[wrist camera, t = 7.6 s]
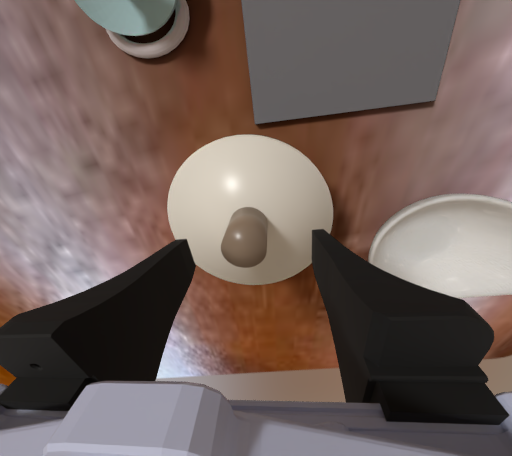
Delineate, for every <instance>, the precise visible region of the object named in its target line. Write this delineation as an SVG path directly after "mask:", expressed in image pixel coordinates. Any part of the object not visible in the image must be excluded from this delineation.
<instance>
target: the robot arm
mask: <svg viewBox="0 0 512 456" xmlns="http://www.w3.org/2000/svg"><path fill="white" fill-rule="evenodd" d="M312 264H313V269H314V274H315V278H316V281H317V284H318V287H319V290H320V293H321V296H322V299H323V302H324V305H325V308H326V311H327V314H328V318H329V322H330V326H331V331H332V335H333V340H334V344H335V349H336V354H337V358H338V363H339V368H340V373H341V377H342V383H343V388H344V394H345V399H346V403H342V402H297V401H296V402H295V401H293V402H292V401H255V400H254V401H252V400H227V399H226V398H225V397H224V396H223V395H222V394H221V392H220V391H218V390H215V389H213V388H211V387H209V386H206V385H204V384H198V383H190V382H168V381H167V382H165V381H155V380H156V377H157V373H158V369H159V366H160V362H161V358H162V355H163V352H164V348H165V345H166V342H167V339H168V336H169V333H170V330H171V327H172V324H173V321H174V319H175V316H176V314H177V312H178V310H179V307H180V305H181V303H182V301H183V299H184V297H185V294H186V292H187V290H188V288H189V286H190V283H191V281H192V278H193V275H194V271H195V267H196V265H195V262H194V259H193V256H192V253H191V250H190V247H189V244H188V241H187V239H177V240H175V241H173V242H171V243H170V244H168V245H166V246H165V247H163V248H162V249H160V250H159V251H157V252H156V253H154V254H153V255H151V256H150V257H148V258H147V259H145V260H143V261H142V262H140V263H138V264H137V265H135V266H134V267H132V268H130V269H129V270H127V271H125V272H123V273H121V274H120V275H118V276H116V277H114V278H112V279H110V280H108V281H106V282H104V283H101V284H99V285H97V286H95V287H93V288H90V289H88V290H86V291H84V292H81V293H79V294H76V295H74V296H71V297H68V298H66V299H63V300H60V301H58V302H55V303H52V304H49V305H46V306H43V307H40V308H36V309H33V310H30V311H27V312H24V313H21V314H18V315H16V316H15V317H13V318H12V319H10V320H9V321H8V322H7V323H5V324H4V325H3V326H2V327H0V365H1V366H2V367H4V368H5V369H6V370H8V371H9V372H10V373H11V374H13V375H14V376H15V377H17V378H16V379H15V380H14V381H13V382H12V383H11V384H10V385H9V386H7V385H4V384H0V456H512V392H503V393H499V394H496V395H495V396H494V395H493V393H492V392H491V391H490V390H489V388H488V387H487V386H486V384H485V383H486V382H487V381H488V378H487V376H486V374H485V373H484V372H483V371H482V370H481V368H480V367H479V366H478V365H479V363H480V362H481V360H482V359H483V358H484V356H485V355H486V353H487V352H488V350H489V349H490V347H491V345H492V343H493V341H494V331H493V329H492V328H491V327H490V325H489V324H488V323H487V322H486V321H485V320H484V319H483V318H482V317H481V316H480V315H479V314H478V313H477V312H476V311H475V310H474V309H473V308H472V307H471V306H470V305H469V304H467V303H466V302H465V301H464V300H462V299H458V298H455V297H452V296H449V295H446V294H442V293H439V292H436V291H433V290H430V289H427V288H424V287H422V286H419V285H416V284H414V283H411V282H408V281H406V280H404V279H401V278H399V277H397V276H395V275H392V274H390V273H388V272H386V271H384V270H382V269H380V268H378V267H376V266H374V265H373V264H371V263H369V262H367V261H365V260H364V259H362V258H361V257H359V256H358V255H356V254H355V253H353V252H352V251H350V250H349V249H347V248H346V247H345V246H343V245H342V244H341V243H340V242H338V241H337V240H336V239H335V238H333V237H332V236H331V235H330V234H329V233H328V232H326V231H325V230H324V229H317V230H312Z"/></svg>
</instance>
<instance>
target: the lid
mask: <svg viewBox="0 0 512 456" xmlns="http://www.w3.org/2000/svg"><path fill="white" fill-rule="evenodd" d="M167 211H168V219H169V223H170V227H171V230H172V232H173V235H174V237H175V239H176V240H177V239H187V241H188V244H189V247H190V250H191V253H192V256H193V259H194V262H195V264H196V265H198V266H199V267H200V268H202V269H203V270H205V271H206V272H208V273H210V274H212V275H214V276H216V277H218V278H221V279H223V280H226V281H229V282H234V283H238V284H246V285H261V284H269V283H275V282H278V281H282V280H285V279H287V278H290V277H292V276H294V275H296V274H297V273H299V272H301V271H302V270H304V269H305V268H306V267H308V266H309V265H310V264H311V263H312V230H317V229H324V230H325V231H326V232H328V233H329V234H330V232H331V229H332V223H333V204H332V198H331V195H330V191H329V188H328V186H327V184H326V182H325V180H324V178H323V176H322V175H321V173H320V172H319V171H318V169H317V168H316V166H315V165H314V164H313V163H312V162H311V161H310V160H309V159H308V158H307V157H306V156H305V155H303V154H302V153H301V152H300V151H299V150H297V149H295V148H294V147H292V146H290V145H289V144H287V143H284V142H282V141H280V140H277V139H274V138H270V137H266V136H261V135H252V134H247V135H234V136H229V137H224V138H221V139H219V140H216V141H213V142H211V143H209V144H207V145H205V146H204V147H202V148H200V149H199V150H197V151H196V152H195V153H193V154H192V155H191V156H190V157H189V158H188V159H187V160H186V161H185V162H184V163H183V164H182V166H181V167H180V168H179V170H178V171H177V173H176V175H175V177H174V179H173V181H172V184H171V187H170V190H169V195H168V206H167Z"/></svg>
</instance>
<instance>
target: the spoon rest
mask: <svg viewBox="0 0 512 456" xmlns="http://www.w3.org/2000/svg"><path fill="white" fill-rule="evenodd" d="M368 262H369V263H371V264H373V265H374V266H376V267H378V268H380V269H382V270H384V271H386V272H388V273H390V274H392V275H395V276H397V277H399V278H401V279H404V280H406V281H408V282H411V283H414V284H416V285H419V286H422V287H424V288H427V289H430V290H433V291H436V292H439V293H442V294H446V295H449V296H452V297H455V298H469V297H483V296H498V295H512V202H510V201H507V200H503V199H499V198H495V197H490V196H485V195H477V194H445V195H438V196H433V197H430V198H426V199H423V200H420V201H417V202H415V203H413V204H411V205H409V206H407V207H405V208H403V209H402V210H400V211H398V212H397V213H396V214H394V215H393V216H392V217H391V218H389V219H388V220H387V221H386V222H385V223H384V224H383V225H382V227H381V228H380V229H379V230H378V232H377V233H376V235H375V237H374V239H373V242H372V244H371V247H370V251H369V255H368Z"/></svg>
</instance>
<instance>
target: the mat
mask: <svg viewBox="0 0 512 456" xmlns="http://www.w3.org/2000/svg"><path fill="white" fill-rule="evenodd" d="M241 1H242V10H243V19H244V28H245V37H246V46H247V55H248V64H249V74H250V83H251V92H252V101H253V110H254V119H255V124H260V123H268V122H276V121H283V120H291V119H298V118H306V117H314V116H321V115H329V114H337V113H344V112H352V111H359V110H367V109H375V108H382V107H390V106H398V105H405V104H413V103H420V102H428V101H435V99H436V95H437V91H438V87H439V83H440V79H441V75H442V71H443V67H444V63H445V59H446V55H447V51H448V47H449V43H450V39H451V35H452V31H453V27H454V23H455V19H456V15H457V11H458V7H459V3H460V0H241Z"/></svg>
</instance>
